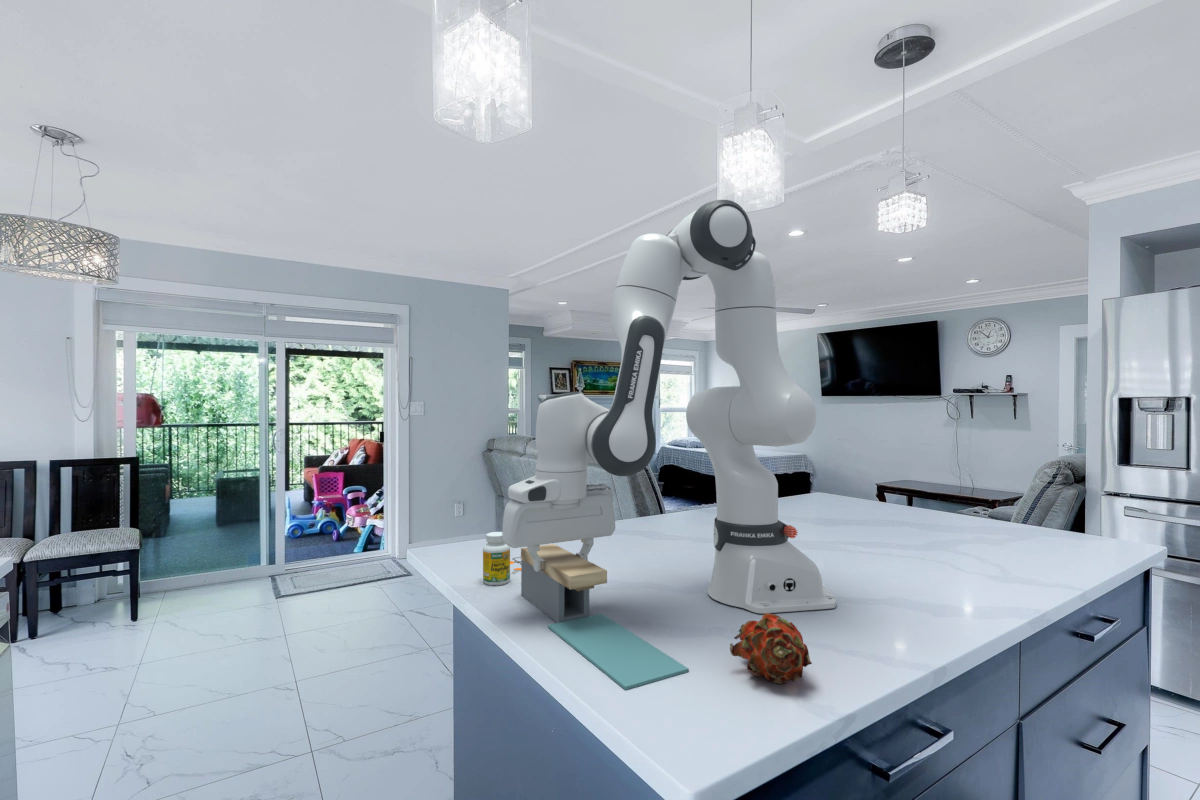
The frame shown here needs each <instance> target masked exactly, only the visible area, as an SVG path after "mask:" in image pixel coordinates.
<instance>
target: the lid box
mask: <svg viewBox="0 0 1200 800" xmlns="http://www.w3.org/2000/svg"><path fill="white" fill-rule="evenodd" d="M520 561H521V564H520V566H521V567H520V568H521V571H520V572H521V577H520V579H521V583H520V585H521V587H520V590H521V591H520V596H522V597H523V598H524V599H526V600H527V601H528V602H529V603H530V604H532V605H534V607H536V608H538V609H539V610H540V611H542V612H543V614H546V615H547V616H548V617H549V618H550V619H552V620H553V621H554V622H555V623H559V622H564V621H569V620H574V619H579V618H583V617H588V616H590V589H587V590H581V591H576V590H575V589H571V590H570V589H568V588H567V587H565V586H564V585H562V584H560V583H559V582H557V581H555V580H554V579H552V578H551V577H549V576H547V575H546V574H544V573H543V572H541V571H538V572H536V571H535V570H534V567H533V566H531V565H530V564H528V563H526V562H525V561H523V560H522V559H521V558H520Z"/></svg>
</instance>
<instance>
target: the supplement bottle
mask: <svg viewBox="0 0 1200 800" xmlns="http://www.w3.org/2000/svg"><path fill="white" fill-rule="evenodd" d="M485 541H486V544H484V545H483V547H482V582H483V583H484V584H485V585H486V586H487V585H488V586H492V585H496V586H503V585H506V584H508V583H509V582H510V581H511V564H510V561H511V547H510V546H508V545H507V544H506V543H505V542H504V541H503V538H502V531H493V532H492V531H491V532H488V533H486V535H485Z"/></svg>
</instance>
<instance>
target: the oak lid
mask: <svg viewBox="0 0 1200 800" xmlns="http://www.w3.org/2000/svg"><path fill="white" fill-rule="evenodd" d="M536 552H537V554H538V556H539V558H542V559H543V560H546V565H545V567H546V569H545V570H544V571H541V572H543V573H544V574H546V575H547V576H549V577H551V578H552V579H554V580H555V581H557V582H559V583H560V584H562V585H564V586H565V587H567V588H568V589H570V590H571V589H575V590H576V591H581V590H587V589H589V590H592V589H595V586H598V585H603V584H608V570H607V569H605V568H603V567H601V566H599V565H596V564H595V563H593V562H591V561H587V560H585V559H583V558H581V557H579V556H577V555H576V553H575V554H574V553H573V552H570V551H568V550H567V549H564V547H563V548H562V546H558V545H557V544H556V543H550V544H543V545H540V551H536ZM520 557H521V558H520V560H521V559H522V560H523V561H525V562H526V563H528V564H530V565H531V566H533V559H532V557H531V555H530V554H529V552H528V550H527V547H520Z"/></svg>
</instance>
